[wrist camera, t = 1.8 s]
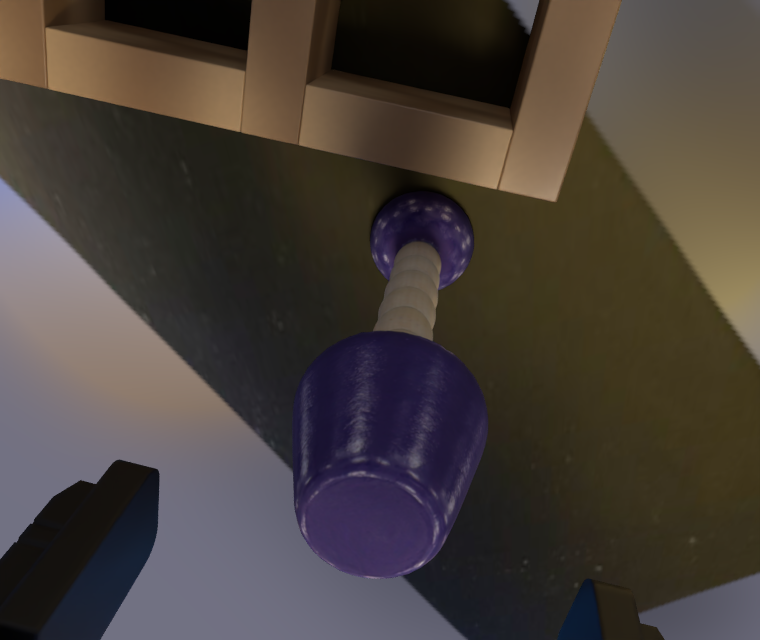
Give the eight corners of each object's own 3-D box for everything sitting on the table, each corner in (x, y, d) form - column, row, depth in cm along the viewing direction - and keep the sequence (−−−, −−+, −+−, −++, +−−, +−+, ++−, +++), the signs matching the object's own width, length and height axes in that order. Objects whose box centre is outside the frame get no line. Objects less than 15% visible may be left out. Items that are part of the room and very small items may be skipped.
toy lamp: (401, 159, 26) (290, 394, 12) (508, 209, 27) (534, 499, 12) (355, 262, 28) (215, 568, 14) (455, 307, 29) (421, 653, 14)
